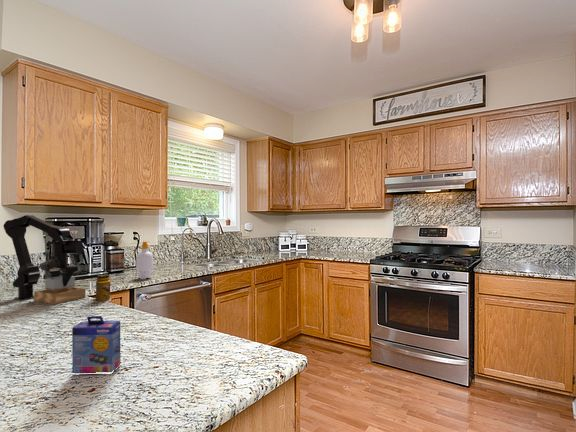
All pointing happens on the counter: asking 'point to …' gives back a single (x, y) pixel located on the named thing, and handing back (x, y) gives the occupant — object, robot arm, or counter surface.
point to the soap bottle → (144, 262)
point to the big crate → (59, 295)
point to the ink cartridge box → (95, 346)
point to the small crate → (58, 283)
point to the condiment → (102, 289)
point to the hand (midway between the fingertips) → (60, 285)
